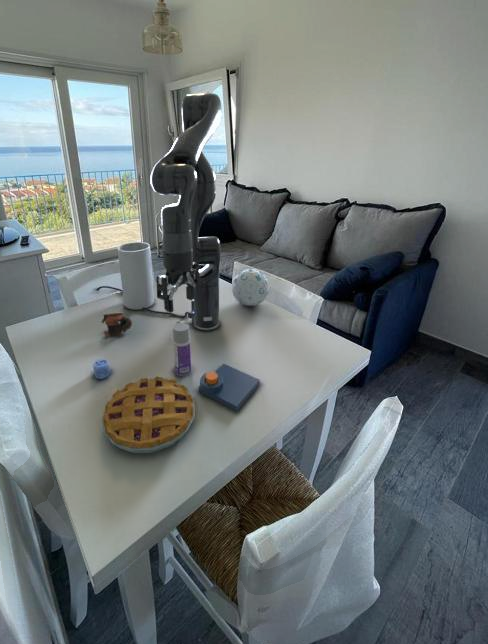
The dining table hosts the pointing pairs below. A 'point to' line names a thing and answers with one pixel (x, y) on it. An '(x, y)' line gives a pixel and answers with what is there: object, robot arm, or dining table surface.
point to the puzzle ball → (250, 287)
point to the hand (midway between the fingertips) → (180, 305)
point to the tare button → (211, 378)
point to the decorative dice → (101, 368)
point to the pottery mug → (116, 324)
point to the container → (181, 349)
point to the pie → (148, 415)
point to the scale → (229, 387)
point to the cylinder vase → (136, 275)
